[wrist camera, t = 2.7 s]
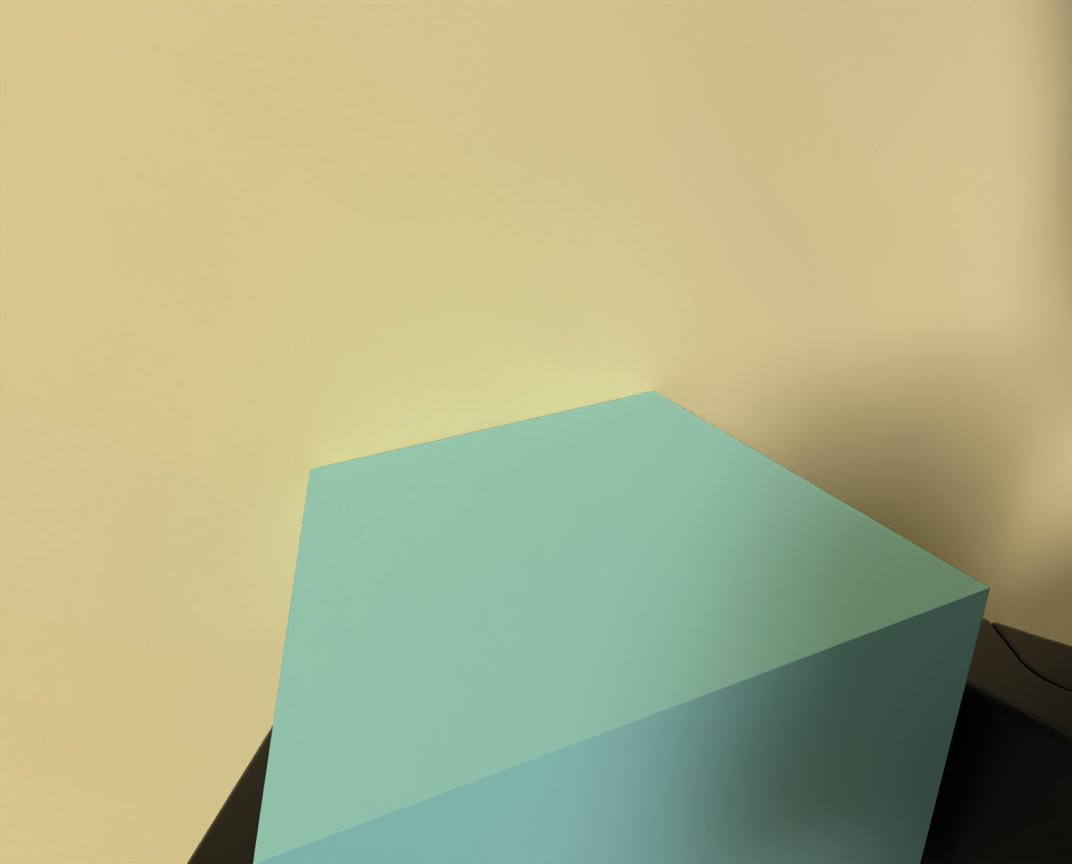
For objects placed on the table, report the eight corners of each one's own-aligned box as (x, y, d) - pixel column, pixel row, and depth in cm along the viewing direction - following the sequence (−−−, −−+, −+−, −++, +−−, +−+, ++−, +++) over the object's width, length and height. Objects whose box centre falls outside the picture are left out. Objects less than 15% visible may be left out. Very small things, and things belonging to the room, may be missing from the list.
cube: (653, 391, 9) (989, 588, 4) (663, 642, 10) (895, 961, 6) (310, 470, 7) (253, 865, 3) (393, 735, 9) (435, 1213, 5)
